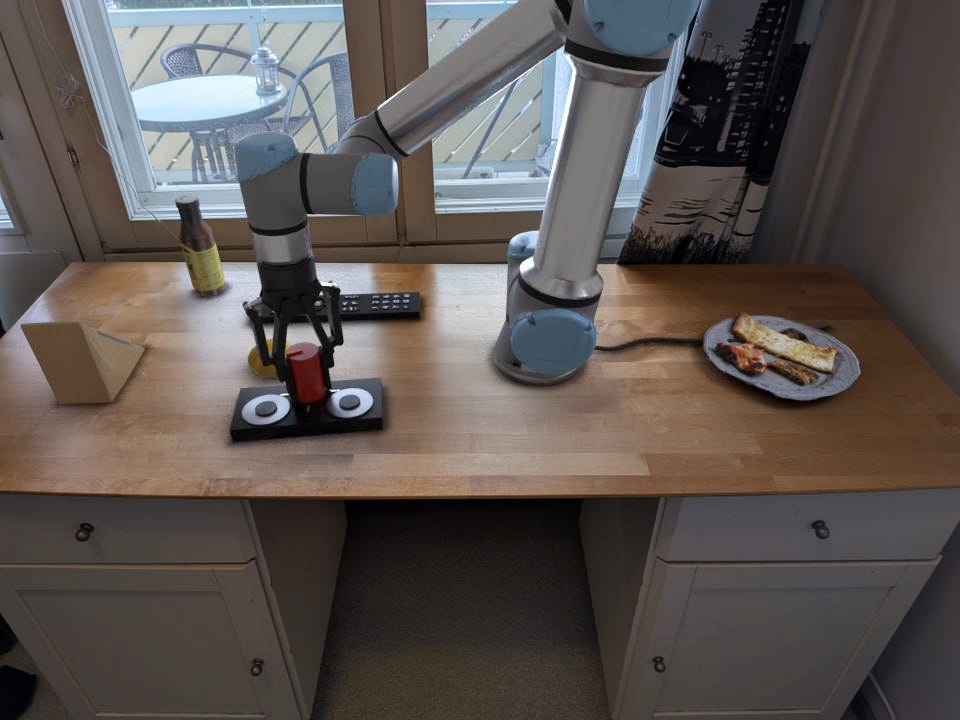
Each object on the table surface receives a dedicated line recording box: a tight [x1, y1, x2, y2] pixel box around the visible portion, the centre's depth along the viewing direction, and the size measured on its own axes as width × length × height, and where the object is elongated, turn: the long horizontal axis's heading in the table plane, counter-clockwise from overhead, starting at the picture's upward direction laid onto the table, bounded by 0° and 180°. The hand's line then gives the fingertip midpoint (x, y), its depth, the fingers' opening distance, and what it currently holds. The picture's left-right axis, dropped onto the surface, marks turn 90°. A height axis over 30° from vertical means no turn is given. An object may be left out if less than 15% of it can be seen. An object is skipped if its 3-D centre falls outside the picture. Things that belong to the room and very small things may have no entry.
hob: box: [228, 377, 384, 444], centre depth 101 cm, size 22×12×3 cm, turn 98°
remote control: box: [249, 291, 421, 325], centre depth 125 cm, size 8×32×2 cm, turn 94°
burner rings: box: [242, 388, 373, 426], centre depth 98 cm, size 19×7×1 cm, turn 98°
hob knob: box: [286, 341, 326, 403], centre depth 99 cm, size 5×5×8 cm
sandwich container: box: [20, 321, 146, 405], centre depth 104 cm, size 9×15×15 cm, turn 4°
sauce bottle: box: [174, 194, 226, 297], centre depth 126 cm, size 7×6×20 cm
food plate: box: [701, 311, 862, 401], centre depth 112 cm, size 25×23×4 cm
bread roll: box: [247, 338, 292, 380], centre depth 110 cm, size 8×9×4 cm
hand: (309, 389), depth 101 cm, fingers closed on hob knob, 5 cm apart
